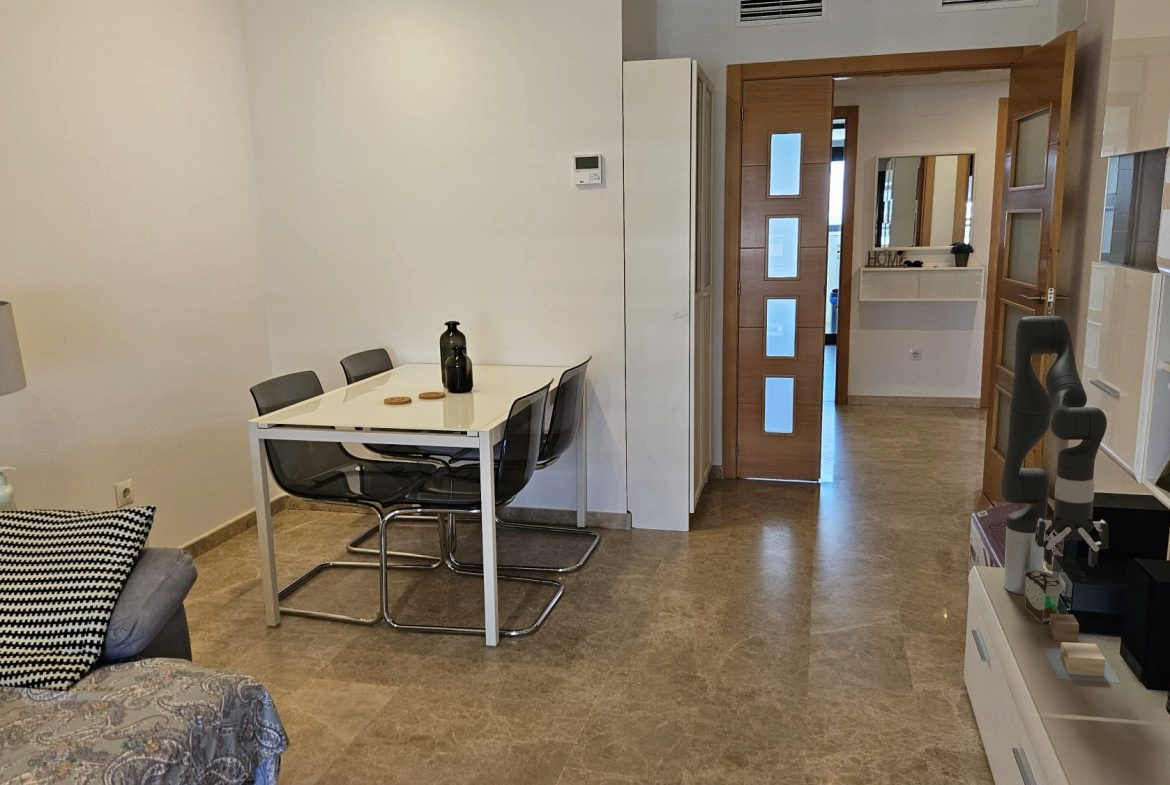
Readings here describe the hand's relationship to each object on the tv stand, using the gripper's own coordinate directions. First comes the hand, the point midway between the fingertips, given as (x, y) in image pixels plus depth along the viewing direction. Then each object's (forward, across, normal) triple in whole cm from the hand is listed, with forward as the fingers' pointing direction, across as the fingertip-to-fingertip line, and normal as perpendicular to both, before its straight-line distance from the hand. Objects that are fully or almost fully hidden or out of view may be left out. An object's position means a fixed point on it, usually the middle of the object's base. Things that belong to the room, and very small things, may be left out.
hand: (1069, 564), depth 200 cm
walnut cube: (+22, -2, -8) cm, 23 cm away
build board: (+22, -2, +6) cm, 23 cm away
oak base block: (+21, -2, +8) cm, 22 cm away
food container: (+22, 0, -20) cm, 30 cm away
